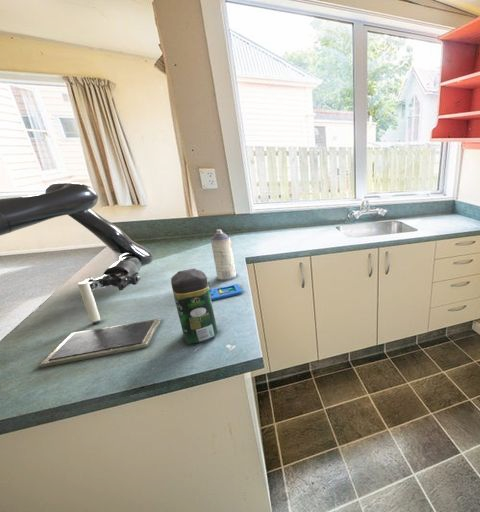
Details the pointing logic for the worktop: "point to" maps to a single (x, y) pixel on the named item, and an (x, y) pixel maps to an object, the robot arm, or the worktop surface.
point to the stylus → (89, 302)
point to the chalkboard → (103, 342)
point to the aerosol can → (223, 256)
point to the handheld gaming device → (225, 291)
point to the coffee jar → (194, 305)
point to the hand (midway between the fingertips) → (102, 289)
